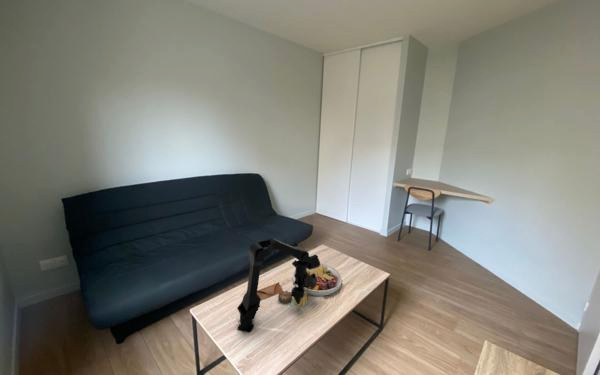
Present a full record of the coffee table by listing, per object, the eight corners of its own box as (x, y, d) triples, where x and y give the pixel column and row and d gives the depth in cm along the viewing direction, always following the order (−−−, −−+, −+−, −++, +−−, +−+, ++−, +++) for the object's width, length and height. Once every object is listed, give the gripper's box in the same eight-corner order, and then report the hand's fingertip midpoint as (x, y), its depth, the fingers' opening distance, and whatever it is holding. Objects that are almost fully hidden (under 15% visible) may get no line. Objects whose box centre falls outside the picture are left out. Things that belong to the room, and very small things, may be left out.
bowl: (282, 280, 149) (282, 269, 148) (316, 264, 169) (316, 254, 167) (317, 306, 127) (317, 293, 126) (351, 285, 147) (352, 273, 145)
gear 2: (292, 305, 126) (292, 297, 125) (295, 297, 132) (295, 289, 131) (305, 307, 124) (305, 299, 123) (307, 299, 131) (307, 291, 130)
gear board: (305, 310, 124) (305, 300, 123) (276, 305, 127) (276, 296, 126) (307, 300, 132) (308, 291, 131) (280, 296, 135) (280, 287, 133)
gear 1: (290, 305, 126) (290, 299, 125) (276, 303, 127) (276, 296, 126) (293, 296, 133) (293, 290, 132) (280, 294, 134) (280, 288, 133)
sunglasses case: (258, 305, 127) (255, 292, 128) (253, 305, 132) (250, 292, 133) (286, 293, 137) (283, 281, 139) (280, 293, 143) (277, 281, 144)
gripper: (313, 284, 114) (312, 312, 117) (318, 264, 132) (317, 289, 135) (291, 281, 116) (290, 309, 119) (298, 261, 134) (297, 286, 137)
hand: (300, 298), depth 128 cm, fingers open, 9 cm apart
